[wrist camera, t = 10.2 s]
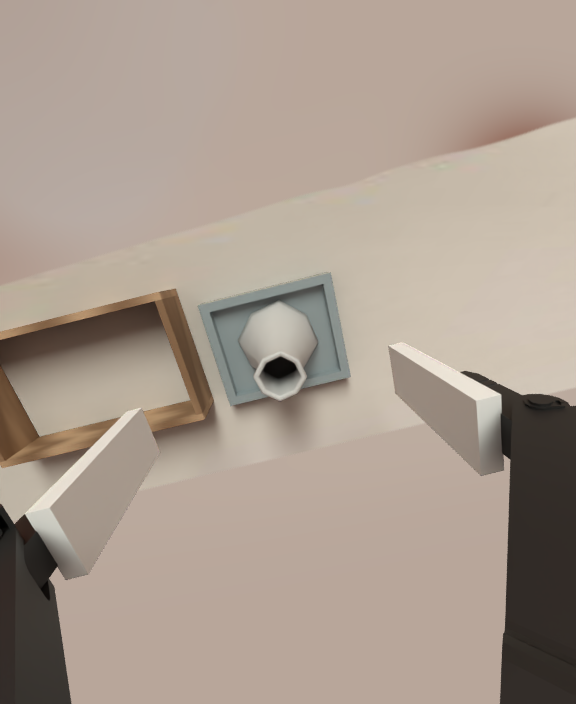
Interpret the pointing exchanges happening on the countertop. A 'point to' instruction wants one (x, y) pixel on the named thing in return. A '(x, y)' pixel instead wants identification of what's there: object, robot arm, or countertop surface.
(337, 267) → the countertop surface
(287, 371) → the flask
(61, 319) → the caddy
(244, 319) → the tray
